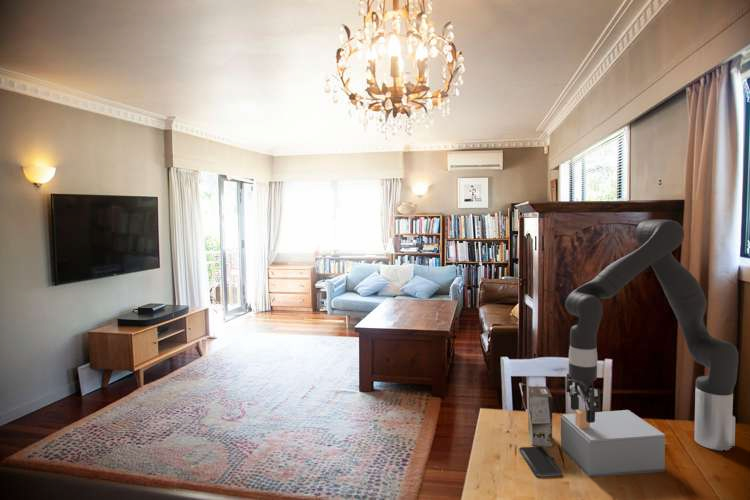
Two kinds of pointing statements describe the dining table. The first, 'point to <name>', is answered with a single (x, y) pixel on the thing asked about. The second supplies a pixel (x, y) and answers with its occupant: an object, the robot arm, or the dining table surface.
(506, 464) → the dining table surface
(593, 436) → the grey box lid
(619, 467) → the carton box
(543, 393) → the coffee box
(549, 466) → the phone
